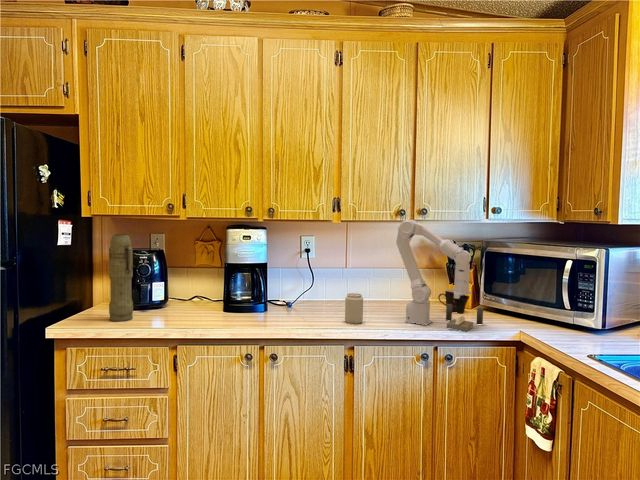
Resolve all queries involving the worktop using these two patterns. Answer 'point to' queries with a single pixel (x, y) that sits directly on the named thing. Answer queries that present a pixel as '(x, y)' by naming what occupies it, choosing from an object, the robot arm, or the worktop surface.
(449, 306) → the post
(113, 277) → the thermos
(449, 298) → the coffee mug
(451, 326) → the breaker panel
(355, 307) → the can
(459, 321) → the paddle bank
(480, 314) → the post
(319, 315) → the worktop surface
